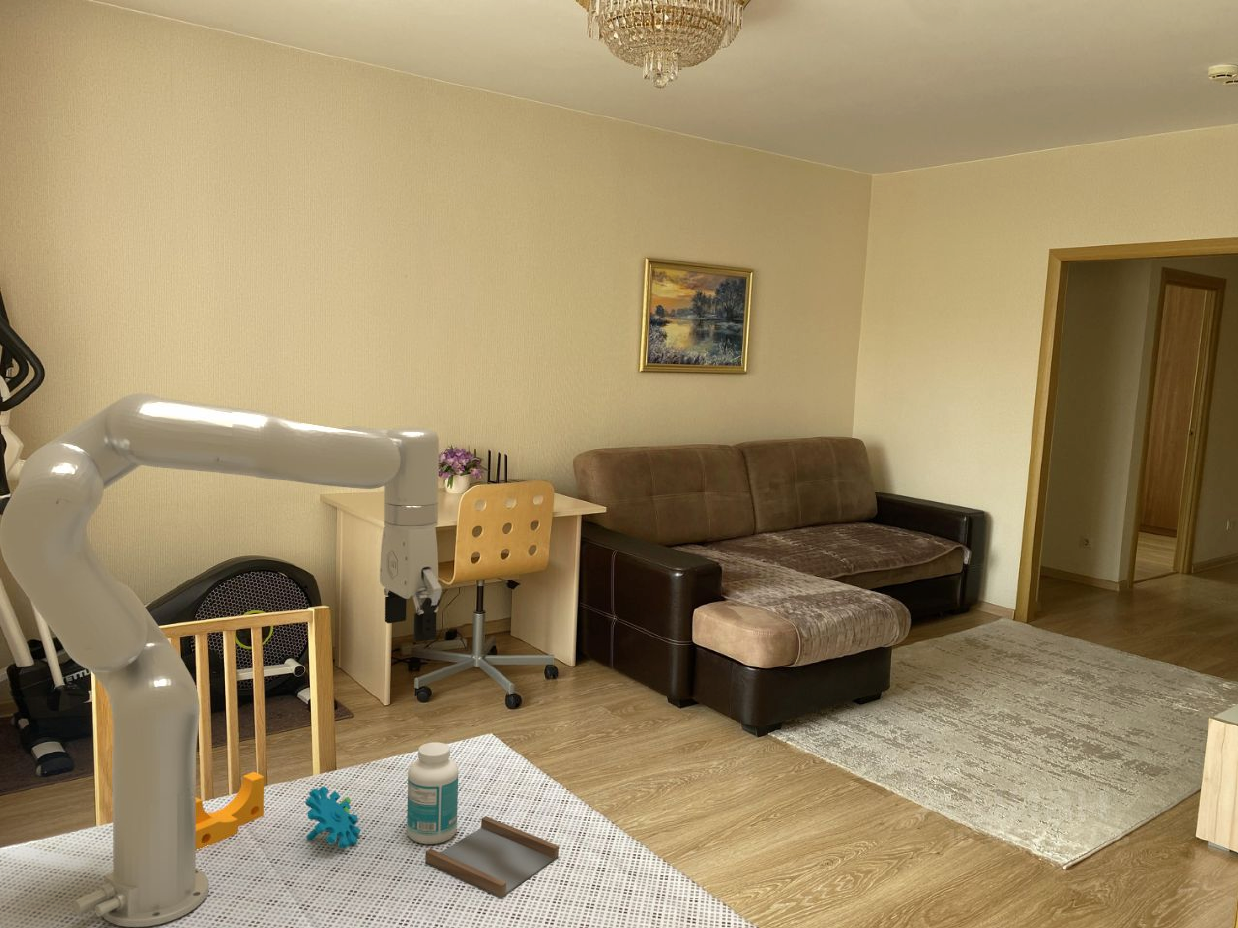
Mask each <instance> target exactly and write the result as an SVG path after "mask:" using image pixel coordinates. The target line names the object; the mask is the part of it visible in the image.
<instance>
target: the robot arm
mask: <svg viewBox="0 0 1238 928" xmlns="http://www.w3.org/2000/svg"><path fill="white" fill-rule="evenodd" d="M439 453H440V439H439V435H438V434H437V432H436V431H435V430H432V429H430V428H424V427H407V426H406V427H395V428H392V429H387V428H374V427H373V428H372V427H366V426H359V425H358V426H357V425H351V426H345V427H341V428H337V427H329V426H323V425H318V424H317V425H315V424H311V423H306V422H301V421H298V420H297V421H296V420H294V419H289V418H287V417H283V416H280V415H276V414H274V413H270V412H266V411H260V410H257V409H256V410H255V409H252V408H251V409H249V408H240V407H233V406H223V405H215V404H209V403H201V402H193V401H186V400H177V399H170V398H164V397H160V396H158V395H154V394H151V393H146V392H145V393H144V392H138V393H132V394H129V395H125V396H124V397H121V398H119V399H117V400H116V401H114V402H113V403H111V404H109V405H108V406H107V407H105V408H103V409H102V410H101V411H99V412H96V413H95V414H94V415H92V416H90V417H89V418H87V419H86V420H85V421H83V422H81V423H79V424H77V425H75V426H74V427H73V428H71V429H69V430H68V431H66V432H64V433H62V434H61V435H59V436H58V437H56V438H55V439H53V440H50V442H47V443H46V444H44V445H42V446H41V447H40V448H38V449H37V450H35V451H34V452H33V453H32V454H30V456H29V457H28V458H27V459H26V460H25V461H24V463H23V465H22V467H21V468H20V472H19V475H18V484H17V486H16V487H15V489H14V491H13V493H12V494H11V496H10V498H9V500H8V501H7V504H6V506H5V508H4V510H3V513H2V515H1V519H0V551H1V555H2V558H3V561H4V562H5V565H6V567H7V568H8V571H9V572H10V573H11V576H13V578H14V579H15V580H16V583H17V584H18V585H19V586H20V588H21V589H22V590H23V592H24V593H25V595H26V596H27V598H28V599H29V601H30V602H31V604H32V605H33V606H34V608H35V609H36V611H37V612H38V613H39V615H40V616H41V617H42V619H43V620H44V621H45V623H46V624H47V626H48V627H49V628H50V631H52V632H53V634H54V635H55V636H56V638H57V639H58V641H59V643H60V644H61V645H62V648H63V650H64V651H65V652H66V653H67V655H68V656H69V658H70V659H72V660H73V661H74V662H75V663H76V664H78V665H79V666H81V667H82V668H84V669H87V670H90V671H91V673H92V674H93V675H94V677H95V678H96V679H97V682H99V683H100V685H101V686H102V687H103V689H104V690H105V691H106V692H107V694H108V698H109V703H110V708H111V711H112V713H111V714H112V723H113V725H112V727H113V729H112V730H113V732H112V733H113V737H112V740H113V741H112V742H113V743H112V774H111V775H112V777H111V778H112V834H113V838H112V839H113V840H112V843H113V844H112V847H113V848H112V850H113V852H112V853H113V854H112V855H113V862H112V863H113V867H112V870H113V871H112V872H110V873H108V874H105V876H104V884H103V885H101V886H99V887H98V888H97V890H96V891H94V892H91V893H89V894H87V895H84V896H81V897H80V898H78V899H74V900H73V902H72V910H73V913H74V915H75V916H77V917H80V916H82V915H84V914H87V913H88V912H91V911H93V910H94V913H95V915H96V916H97V917H99V918H100V917H102V918H103V919H104V921H107V922H109V923H111V924H113V925H116V926H120V927H125V928H143V927H146V928H147V927H151V926H158V925H161V924H162V925H163V924H165V923H169V922H172V921H174V920H177V919H180V918H181V917H184V916H185V915H188V914H189V913H190V912H192V911H194V910H195V909H196V908H197V907H198V906H200V905H201V904H202V903H203V901H204V900H205V899H206V897H207V895H208V893H209V879H208V877H207V875H206V873H204V872H203V871H202V870H200V869H198V868H197V867H196V866H197V865H196V862H197V861H196V856H197V855H196V853H197V851H196V797H197V745H198V744H197V743H198V734H199V725H200V724H199V723H200V714H201V713H200V711H201V710H200V698H199V692H198V688H197V685H196V683H195V681H194V679H193V676H192V675H191V673H190V672H189V670H188V668H187V667H186V665H185V662H184V661H183V659H182V658H181V656H180V654H179V653H178V651H177V649H176V648H175V647H174V645H172V642H171V641H170V640H169V638H168V637H167V636H166V634H165V633H164V632H163V631H162V629H161V627H160V626H159V625H158V623H157V622H156V621H155V619H154V618H153V616H152V615H151V613H150V612H149V611H148V609H147V607H146V606H145V605H144V604H143V602H142V601H141V599H140V598H139V597H138V596H137V594H136V593H135V592H134V591H133V590H132V588H131V587H129V586H128V585H127V584H125V583H123V582H121V581H119V580H116V579H115V578H114V576H113V575H112V573H111V572H110V570H109V569H108V568H107V566H106V564H105V563H104V561H103V559H102V558H101V557H100V555H99V554H98V553H97V551H96V550H95V549H94V547H93V546H92V544H91V543H90V540H89V538H88V533H87V531H88V530H87V528H88V524H89V521H90V519H91V518H92V516H93V514H94V513H95V512H96V511H97V509H98V507H99V505H100V504H101V501H102V500H103V496H104V490H106V489H107V488H109V487H110V486H112V485H114V484H115V483H117V482H119V481H120V480H121V479H123V478H124V477H126V476H127V475H129V474H130V473H131V472H133V471H134V470H135V471H136V470H137V469H138V468H139V467H140V466H141V467H142V466H146V467H153V468H162V469H171V470H183V471H186V470H187V471H194V472H195V471H197V472H208V473H219V474H220V473H221V474H228V475H234V476H235V475H236V476H247V477H254V478H260V479H264V480H265V479H267V480H278V481H280V480H281V481H288V482H289V481H290V482H297V483H303V484H312V485H319V486H330V487H339V488H350V489H360V490H361V489H362V490H374V489H379V488H381V487H384V489H383V490H384V496H383V498H384V499H383V500H384V502H383V505H384V506H383V525H384V526H383V532H382V540H381V552H380V567H379V568H380V569H379V582H380V584H381V586H382V587H384V589H383V595H384V622H385V623H387V624H394V623H398V622H399V623H400V622H405V621H406V620H407V604H408V603H407V601H408V600H407V599H410V598H412V600H413V605H414V606H415V611H416V613H413V640H414V641H415V642H417V643H418V642H424V641H429V640H434V639H436V637H437V613H438V611H439V605H440V602H441V600H440V599H441V595H442V592H443V587H442V585H441V583H439V561H438V559H439V558H438V557H439V556H438V542H437V532H436V527H437V526H438V525H439V520H438V519H439V471H440V469H439V465H440V464H439V463H440V462H439V461H440V454H439ZM421 599H424V601H423V602H422V600H421Z"/></svg>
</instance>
